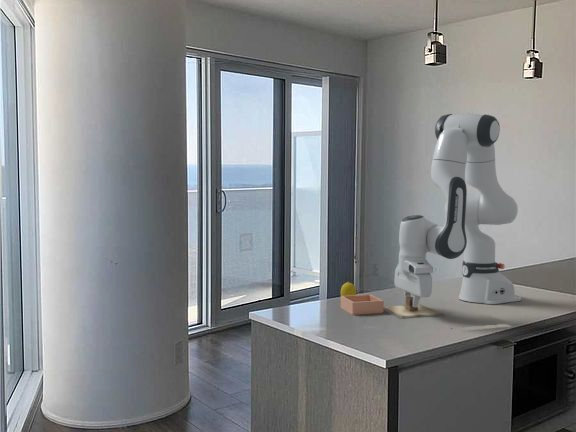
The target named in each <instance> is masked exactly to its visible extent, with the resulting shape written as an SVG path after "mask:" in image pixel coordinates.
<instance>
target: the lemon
mask: <svg viewBox="0 0 576 432" xmlns="http://www.w3.org/2000/svg"><path fill="white" fill-rule="evenodd" d="M356 289H357V288H356V287H355V285H354V284H353V283H351V282H350V281H347V282H345V283H344V284H342V286H341V288H340V297H341V296H351V295H357V290H356Z"/></svg>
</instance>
